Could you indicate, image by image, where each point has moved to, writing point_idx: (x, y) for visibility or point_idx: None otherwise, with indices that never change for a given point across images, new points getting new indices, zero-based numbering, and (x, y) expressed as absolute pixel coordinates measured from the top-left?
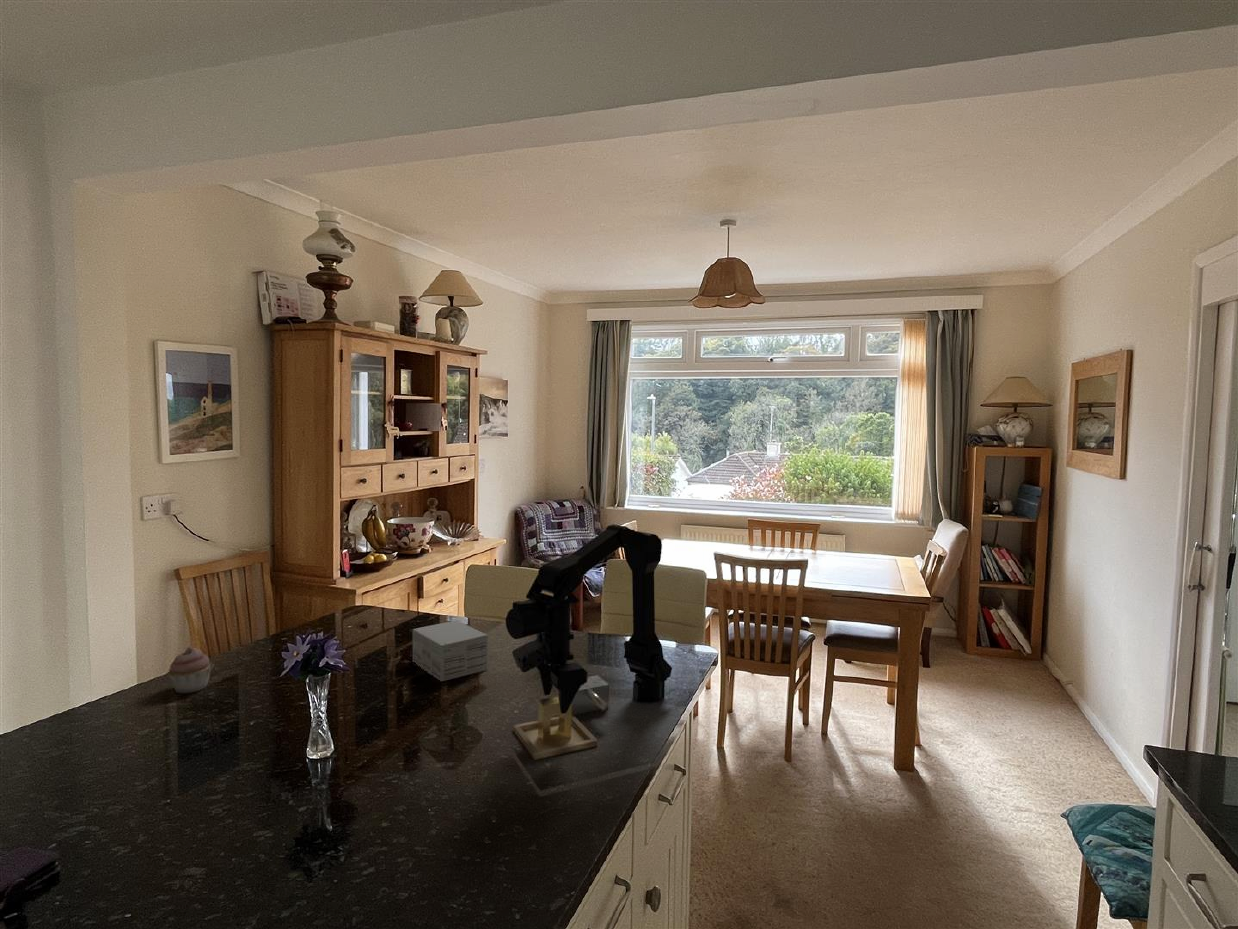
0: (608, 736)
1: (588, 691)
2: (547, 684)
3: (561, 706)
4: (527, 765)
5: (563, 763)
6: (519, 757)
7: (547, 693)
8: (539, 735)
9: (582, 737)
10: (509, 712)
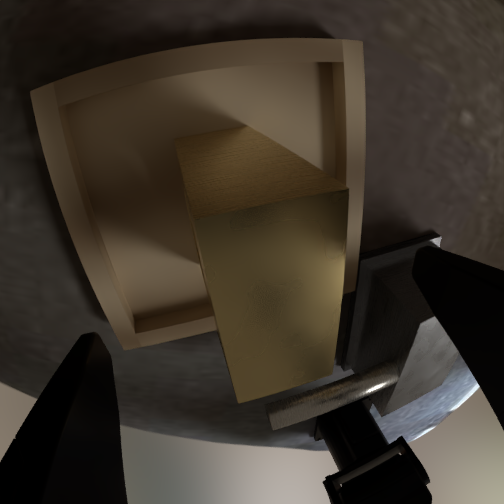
0: (207, 359)
1: (384, 380)
2: (464, 307)
3: (50, 384)
4: (43, 58)
5: (35, 207)
6: (119, 24)
7: (421, 269)
8: (230, 131)
9: (192, 302)
10: (468, 96)
